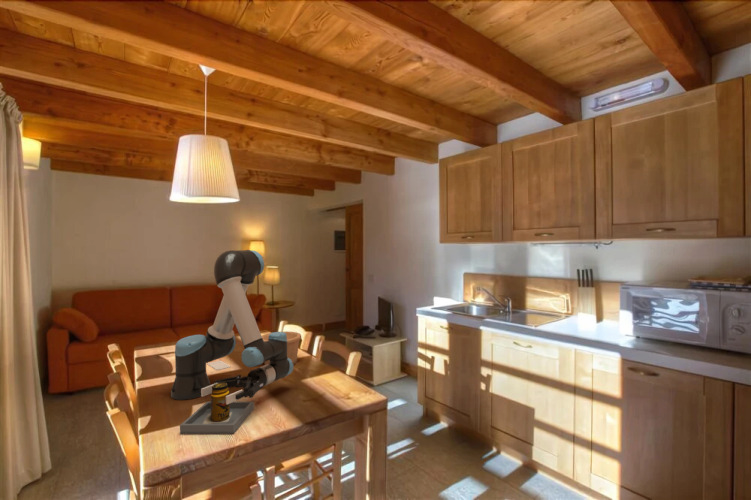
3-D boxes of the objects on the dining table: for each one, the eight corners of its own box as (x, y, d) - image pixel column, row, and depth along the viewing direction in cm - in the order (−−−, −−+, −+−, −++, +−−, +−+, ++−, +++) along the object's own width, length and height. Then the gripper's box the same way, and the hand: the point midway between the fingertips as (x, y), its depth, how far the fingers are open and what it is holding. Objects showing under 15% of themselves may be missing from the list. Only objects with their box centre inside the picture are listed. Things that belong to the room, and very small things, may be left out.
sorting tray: (179, 434, 117) (179, 425, 117) (207, 409, 135) (207, 401, 135) (233, 434, 116) (233, 425, 116) (253, 409, 134) (253, 401, 134)
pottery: (298, 354, 204) (297, 329, 204) (304, 366, 183) (304, 338, 183) (258, 359, 196) (258, 333, 196) (260, 372, 175) (260, 343, 175)
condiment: (228, 422, 123) (227, 387, 123) (202, 424, 121) (201, 390, 121) (232, 412, 130) (232, 380, 130) (207, 415, 128) (207, 382, 128)
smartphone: (220, 360, 195) (231, 366, 184) (220, 361, 195) (231, 367, 184) (206, 363, 189) (216, 369, 179) (206, 364, 189) (216, 371, 179)
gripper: (284, 392, 136) (237, 415, 117) (240, 380, 148) (192, 400, 130) (283, 372, 136) (237, 392, 117) (239, 363, 148) (191, 379, 130)
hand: (213, 396), depth 124 cm, fingers open, 13 cm apart
